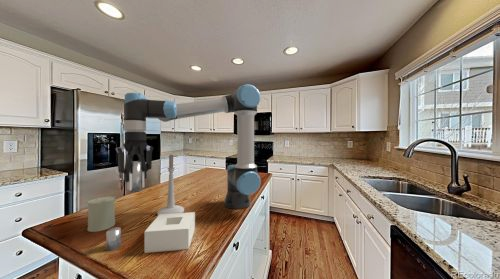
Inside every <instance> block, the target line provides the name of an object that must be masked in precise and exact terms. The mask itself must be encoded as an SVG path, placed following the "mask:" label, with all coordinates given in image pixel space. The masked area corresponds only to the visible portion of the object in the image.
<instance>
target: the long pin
mask: <svg viewBox="0 0 500 279" xmlns="http://www.w3.org/2000/svg"><path fill="white" fill-rule="evenodd" d="M141 171H142V170H141V161H139V160H137V161H134V160H133V161H132V164H131V169H130V173H131V174H132V190H129V192H130V193H139V192H142V189H143V188H142V173H141Z"/></svg>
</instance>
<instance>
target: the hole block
mask: <svg viewBox="0 0 500 279" xmlns="http://www.w3.org/2000/svg"><path fill="white" fill-rule="evenodd" d="M195 230H196V212H195V211H193V212H192V211H191V212H183V213H172V214H159V215H157V217H156V218H155V219H154V220H153V221H152V222H151V224H150V225H149V226H148V227H147V228H146V229H145V231H144V253H145V254H147V253H148V254H149V253H156V252H157V253H158V252H170V251H172V252H173V251H181V250H183V251H184V250H189V248H190V246H191V242H192V239H193V236H194V233H195Z"/></svg>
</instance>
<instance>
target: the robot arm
mask: <svg viewBox="0 0 500 279" xmlns="http://www.w3.org/2000/svg"><path fill="white" fill-rule="evenodd" d="M261 98H262V96H261V93H260V90H259V89H258V88H257V87H256V86H254V85H253V84H247V83H246V84H243V85H240V86H239V87H238V88H237V89H236V90H235V91H234V92H232V93H231V94H228V95H222V97H221V98H211V99H205V100H197V101H191V102H182V103H181V102H180V103H177V102H175V101H171V100H160V99H159V100H156V99H155V100H154V99H147V96H146V95H145V94H143V93H138V92H127V93H126V94H124V100H123V101H124V103H123V107H124V108H123V111H124V131H125V132H124V143H123V144H122V145H121V146H119V147H115V150H114V151H115V152H116V153H117V170H118V173H121V174H123V175H124V176H123V177H124V178H123V179H124V182H125V183H126V190H128V191H130V190H132V174H131V173H130V169H131V164H132V162H133V159H134V156H135V155H137V156H138V161H141V173H142V189H144V188H145V180H146V179H147V174H148V173H147V172H148V171H149V170H151V169H152V161H153V158H152V157H153V151H154V146H150V145H148V143H147V132H146V131H147V118H151V119H152V118H153V119H158V120H159V121H161V122H170V121H175V120H180V119H186V118H192V117H197V116H205V115H211V114H217V113H219V114H220V113H225V114H228V113H234V114H235V115H236V116H237V117H236V120H237V124H236V126H237V127H236V128H237V130H236V131H237V136H236V139H237V140H236V141H237V142H236V143H237V144H236V145H237V148H236V150H237V152H236V153H237V155H236V157H237V158H236V160H237V162H236V164H229V165H228V166H227V170H226V172H227V173H226V175H227V184H226V185H227V190H226V195H225V197H224V200H223V203H224V204H223V205H224V207H225V208H228V209H232V210H239V209H240V210H241V209H246V208H249V206H251V198H250V196H251V195H254V194H255V193H256V192H257V191H258V190H259V189H260V186H261V183H262V182H261V177H260V175H259V174H258V165H257V164H255V116H256V115H257V113H258V105H259V103H260V101H261ZM145 150H146V153H145V152H144V151H145ZM125 151H126V152H127V154H126V161H125V160H124V152H125ZM145 154H146V157H145ZM145 158H146V159H145Z"/></svg>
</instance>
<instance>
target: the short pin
mask: <svg viewBox="0 0 500 279" xmlns="http://www.w3.org/2000/svg"><path fill="white" fill-rule="evenodd" d="M105 231H106V233H105V235H106V236H105V237H106V240H105V242H106V244H105V248H106V249H105V250H106V251H108V252H111V251H115V250H117V249H120V247H121V246H122V245H121V244H122V243H121V242H122V227H120V226H119V227H118V226H117V227H115V226H114V227H111V228H108V229H106V230H105Z"/></svg>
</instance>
